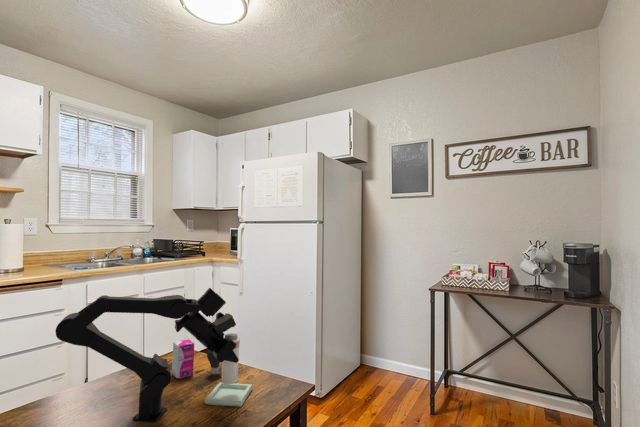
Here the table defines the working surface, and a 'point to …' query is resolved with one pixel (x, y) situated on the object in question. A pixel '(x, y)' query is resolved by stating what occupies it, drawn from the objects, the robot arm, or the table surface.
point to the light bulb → (213, 362)
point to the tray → (229, 394)
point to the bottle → (231, 363)
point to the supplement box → (183, 359)
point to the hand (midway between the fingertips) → (234, 358)
